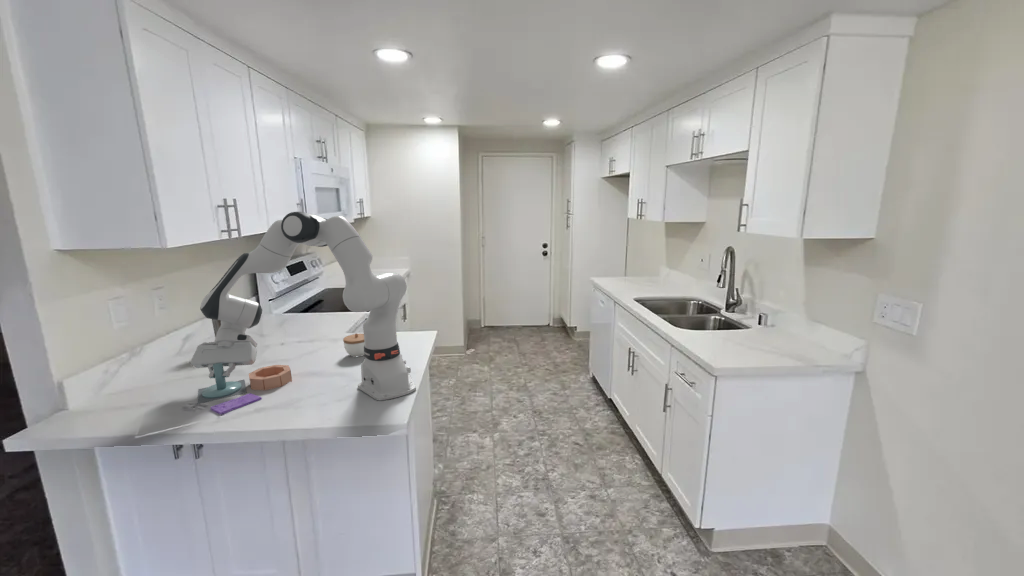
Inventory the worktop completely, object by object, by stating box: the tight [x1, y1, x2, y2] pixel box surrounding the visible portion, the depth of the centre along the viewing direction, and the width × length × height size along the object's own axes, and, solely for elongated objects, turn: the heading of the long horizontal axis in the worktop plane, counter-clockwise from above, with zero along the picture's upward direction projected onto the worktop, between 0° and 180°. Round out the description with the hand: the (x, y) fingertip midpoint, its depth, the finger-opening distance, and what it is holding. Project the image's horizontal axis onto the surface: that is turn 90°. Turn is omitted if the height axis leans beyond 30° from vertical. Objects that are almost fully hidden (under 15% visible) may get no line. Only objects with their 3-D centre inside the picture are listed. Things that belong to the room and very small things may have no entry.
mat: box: [196, 379, 248, 405], centre depth 152 cm, size 14×14×1 cm
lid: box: [202, 363, 242, 398], centre depth 151 cm, size 12×12×10 cm
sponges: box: [210, 392, 262, 415], centre depth 142 cm, size 7×13×2 cm, turn 146°
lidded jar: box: [342, 333, 365, 358], centre depth 185 cm, size 11×11×9 cm
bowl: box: [248, 364, 293, 391], centre depth 158 cm, size 13×13×4 cm
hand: (218, 377), depth 150 cm, fingers open, 3 cm apart
